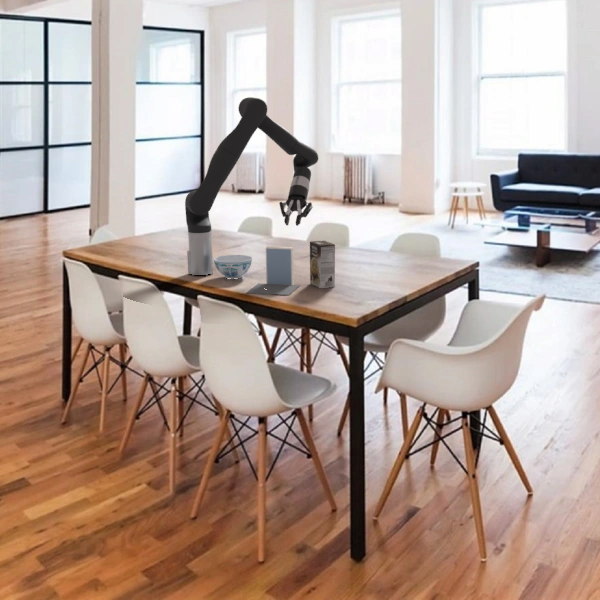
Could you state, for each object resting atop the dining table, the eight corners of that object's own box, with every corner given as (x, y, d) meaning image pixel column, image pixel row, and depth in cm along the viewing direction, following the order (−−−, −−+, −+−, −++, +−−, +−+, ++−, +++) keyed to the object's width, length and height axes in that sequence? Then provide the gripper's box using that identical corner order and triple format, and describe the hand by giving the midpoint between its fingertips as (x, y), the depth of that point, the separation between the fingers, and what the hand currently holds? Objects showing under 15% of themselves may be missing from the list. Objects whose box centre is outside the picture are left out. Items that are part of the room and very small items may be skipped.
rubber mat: (245, 293, 258) (245, 292, 258) (258, 284, 272) (258, 283, 272) (289, 295, 254) (289, 294, 254) (299, 286, 269) (299, 285, 268)
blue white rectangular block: (266, 284, 272) (265, 247, 269) (268, 282, 275) (267, 246, 271) (292, 285, 270) (291, 248, 266) (293, 284, 272) (293, 247, 269)
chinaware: (206, 279, 281) (205, 260, 279) (228, 272, 294) (227, 253, 292) (239, 283, 274) (238, 263, 272) (259, 275, 287) (259, 256, 285)
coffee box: (309, 283, 272) (309, 241, 268) (324, 282, 274) (324, 240, 270) (319, 288, 264) (319, 245, 260) (335, 287, 266) (335, 243, 262)
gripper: (280, 183, 291) (272, 218, 283) (314, 184, 288) (307, 218, 279) (284, 195, 297) (276, 229, 289) (317, 196, 294) (310, 230, 285)
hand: (291, 224), depth 284 cm, fingers open, 3 cm apart
